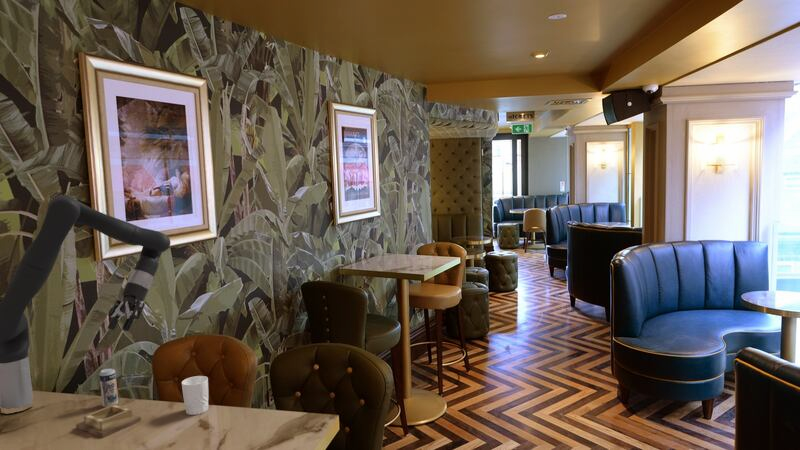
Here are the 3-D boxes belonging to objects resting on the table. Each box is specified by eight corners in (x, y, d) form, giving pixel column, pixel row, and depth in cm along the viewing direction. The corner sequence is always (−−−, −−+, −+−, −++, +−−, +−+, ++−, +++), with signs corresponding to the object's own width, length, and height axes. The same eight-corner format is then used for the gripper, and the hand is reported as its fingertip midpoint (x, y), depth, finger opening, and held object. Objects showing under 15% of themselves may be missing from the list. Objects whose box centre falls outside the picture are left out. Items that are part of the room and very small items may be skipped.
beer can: (106, 409, 180) (103, 373, 179) (99, 406, 183) (96, 371, 182) (121, 404, 184) (118, 369, 183) (114, 401, 187) (111, 366, 186)
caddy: (76, 428, 167) (75, 416, 167) (114, 412, 177) (113, 401, 177) (103, 437, 160) (102, 425, 159) (140, 420, 170) (139, 409, 170)
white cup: (182, 417, 171) (180, 386, 170) (185, 407, 179) (183, 377, 178) (209, 413, 173) (206, 382, 172) (211, 403, 181) (208, 374, 180)
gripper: (117, 281, 193) (96, 325, 186) (141, 281, 185) (120, 326, 178) (135, 290, 199) (115, 333, 191) (159, 290, 191) (139, 334, 184)
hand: (117, 330), depth 185 cm, fingers open, 8 cm apart
